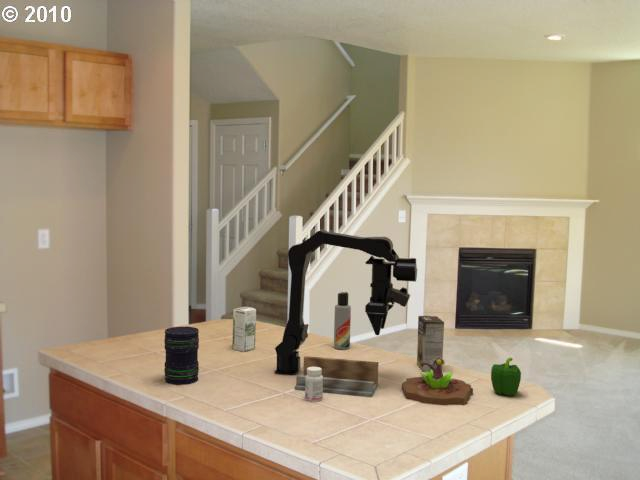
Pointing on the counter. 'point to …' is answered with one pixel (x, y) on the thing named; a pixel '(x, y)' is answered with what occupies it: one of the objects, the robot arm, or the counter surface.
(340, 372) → the cleat board
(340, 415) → the counter surface
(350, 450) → the counter surface
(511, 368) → the bell pepper
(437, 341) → the coffee box
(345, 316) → the lotion bottle
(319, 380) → the pill bottle
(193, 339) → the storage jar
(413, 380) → the plant
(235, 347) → the syrup box
